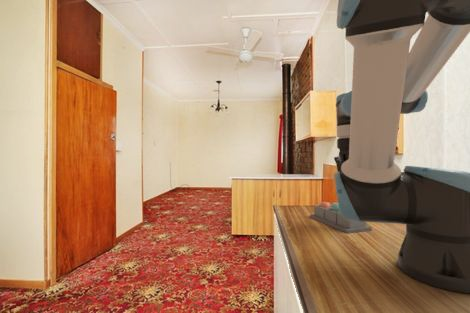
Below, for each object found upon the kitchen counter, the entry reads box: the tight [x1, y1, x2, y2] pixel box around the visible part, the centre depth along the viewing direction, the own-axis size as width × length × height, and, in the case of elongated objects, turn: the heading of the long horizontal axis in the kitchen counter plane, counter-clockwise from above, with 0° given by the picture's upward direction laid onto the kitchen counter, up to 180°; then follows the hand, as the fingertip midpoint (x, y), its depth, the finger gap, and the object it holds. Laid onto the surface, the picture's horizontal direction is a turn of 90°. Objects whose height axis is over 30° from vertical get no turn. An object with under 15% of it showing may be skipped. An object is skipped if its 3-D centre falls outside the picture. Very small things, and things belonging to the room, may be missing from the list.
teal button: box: [331, 202, 340, 212], centre depth 88 cm, size 4×4×4 cm
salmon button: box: [320, 201, 331, 208], centre depth 95 cm, size 4×4×4 cm
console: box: [309, 204, 373, 234], centre depth 88 cm, size 22×10×5 cm, turn 15°
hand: (350, 203), depth 82 cm, fingers closed
